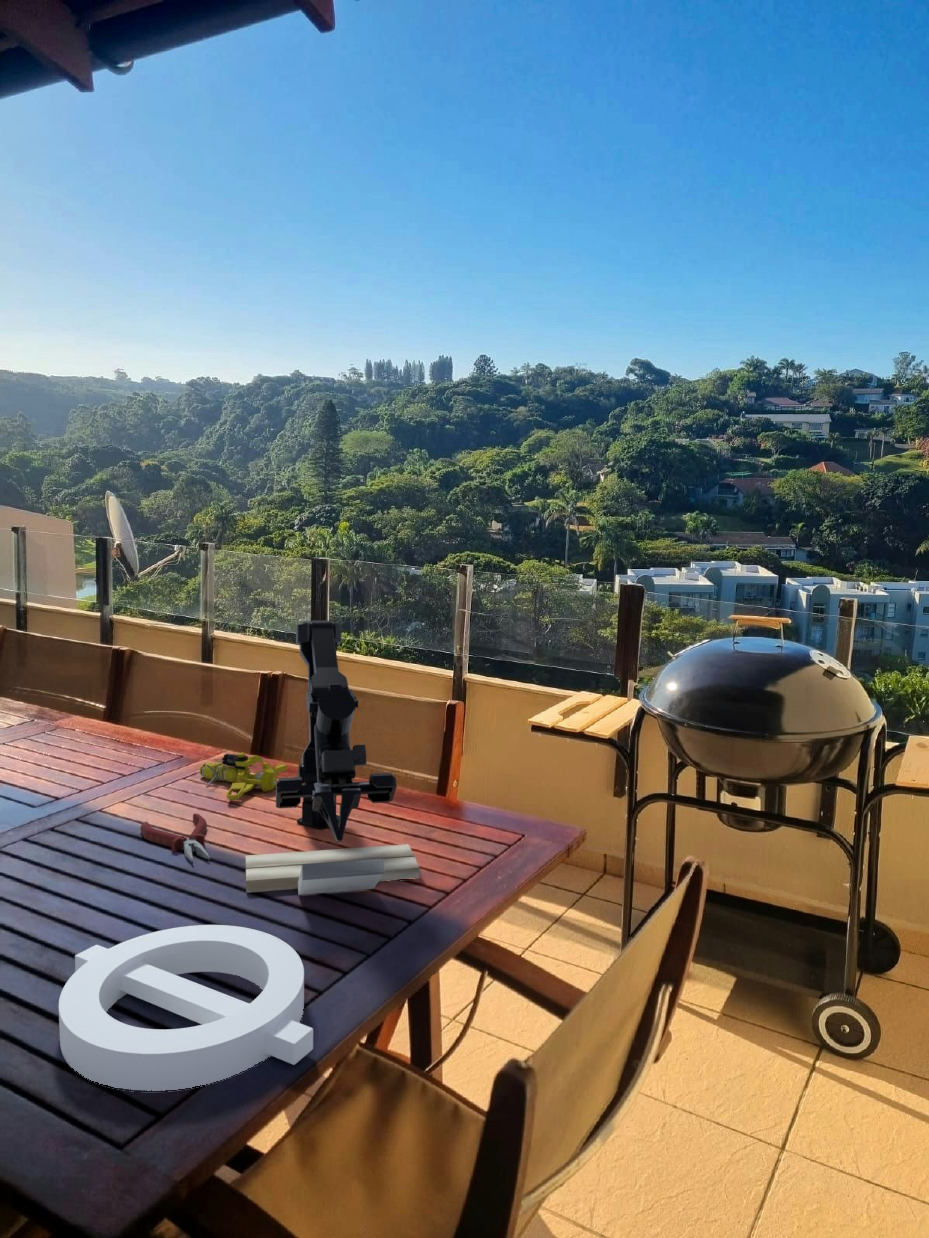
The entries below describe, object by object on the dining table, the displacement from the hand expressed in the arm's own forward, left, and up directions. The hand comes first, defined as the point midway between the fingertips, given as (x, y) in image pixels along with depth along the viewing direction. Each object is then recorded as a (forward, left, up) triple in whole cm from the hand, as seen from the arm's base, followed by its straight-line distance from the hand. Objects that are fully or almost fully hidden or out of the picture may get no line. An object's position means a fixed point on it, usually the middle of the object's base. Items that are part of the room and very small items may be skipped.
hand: (339, 840), depth 136 cm
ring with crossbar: (+33, +3, -11) cm, 35 cm away
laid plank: (-8, -8, -10) cm, 15 cm away
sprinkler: (-30, -53, -11) cm, 62 cm away
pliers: (-2, -39, -11) cm, 40 cm away
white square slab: (-3, -3, -9) cm, 10 cm away
